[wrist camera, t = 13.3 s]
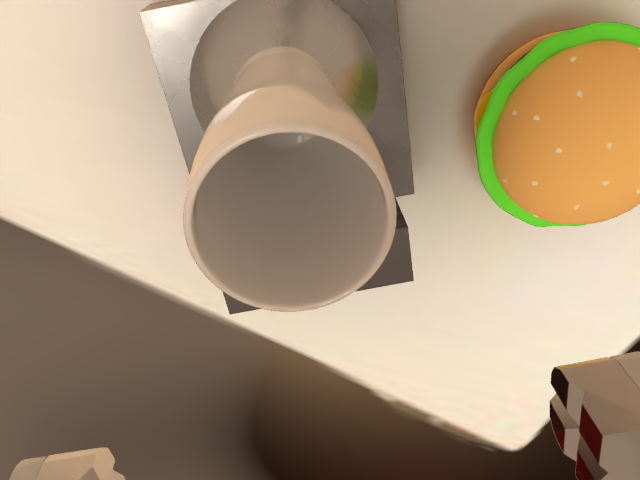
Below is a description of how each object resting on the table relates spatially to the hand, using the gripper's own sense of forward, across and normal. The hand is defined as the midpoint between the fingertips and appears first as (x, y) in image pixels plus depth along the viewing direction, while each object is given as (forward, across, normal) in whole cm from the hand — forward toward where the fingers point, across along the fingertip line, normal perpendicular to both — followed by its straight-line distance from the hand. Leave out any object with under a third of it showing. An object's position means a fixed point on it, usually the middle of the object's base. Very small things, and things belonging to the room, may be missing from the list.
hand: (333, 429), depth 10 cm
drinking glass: (+23, +1, 0) cm, 23 cm away
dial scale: (+27, 0, +2) cm, 27 cm away
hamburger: (+28, -16, +6) cm, 32 cm away
